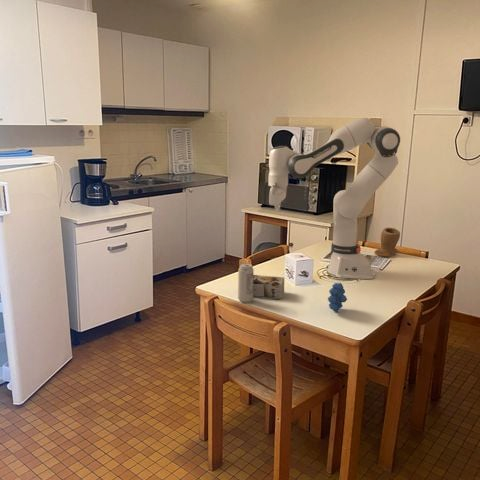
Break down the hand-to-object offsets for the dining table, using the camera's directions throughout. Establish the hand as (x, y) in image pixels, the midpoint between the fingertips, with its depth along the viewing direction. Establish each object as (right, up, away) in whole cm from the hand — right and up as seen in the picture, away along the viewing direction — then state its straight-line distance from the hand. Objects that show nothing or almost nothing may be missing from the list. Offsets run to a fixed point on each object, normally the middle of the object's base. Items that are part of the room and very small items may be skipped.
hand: (277, 211), depth 224 cm
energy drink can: (-15, -38, -29) cm, 50 cm away
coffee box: (+1, -33, -24) cm, 41 cm away
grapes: (+20, -41, -39) cm, 60 cm away
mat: (-8, -36, -20) cm, 42 cm away
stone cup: (+63, -22, +38) cm, 77 cm away
